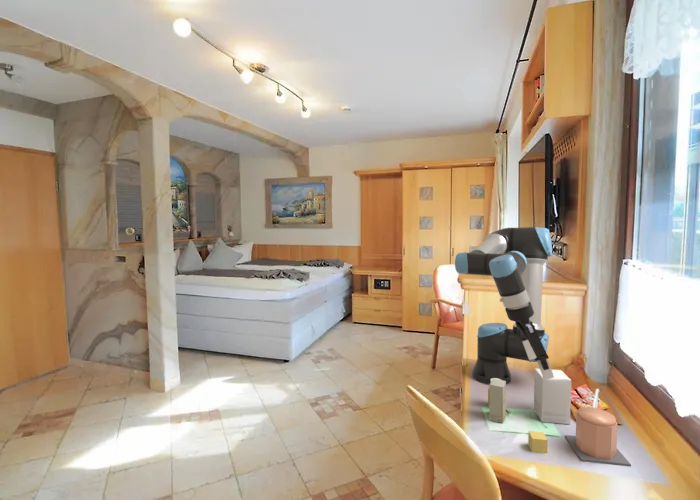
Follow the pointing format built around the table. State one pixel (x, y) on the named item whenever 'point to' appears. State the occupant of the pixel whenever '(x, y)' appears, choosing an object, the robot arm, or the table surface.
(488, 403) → the supplement bottle
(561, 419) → the supplement box
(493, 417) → the skincare box
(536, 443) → the mustard block
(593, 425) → the peach round canister
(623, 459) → the rubber mat
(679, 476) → the table surface
